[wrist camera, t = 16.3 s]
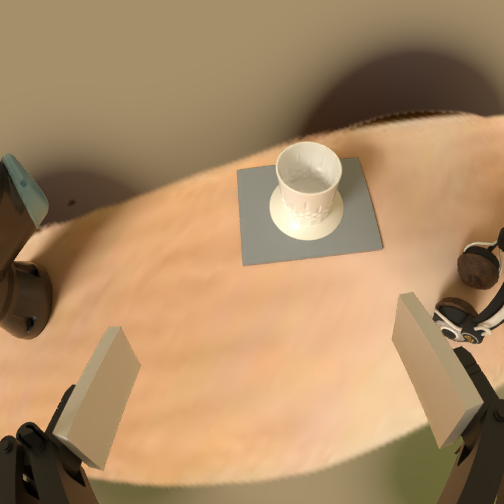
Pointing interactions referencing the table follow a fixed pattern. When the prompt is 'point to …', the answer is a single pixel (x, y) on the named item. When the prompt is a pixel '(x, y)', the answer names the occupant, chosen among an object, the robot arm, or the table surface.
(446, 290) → the table surface
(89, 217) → the table surface
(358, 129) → the table surface
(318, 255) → the card
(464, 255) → the headset
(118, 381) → the robot arm
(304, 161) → the white cup
